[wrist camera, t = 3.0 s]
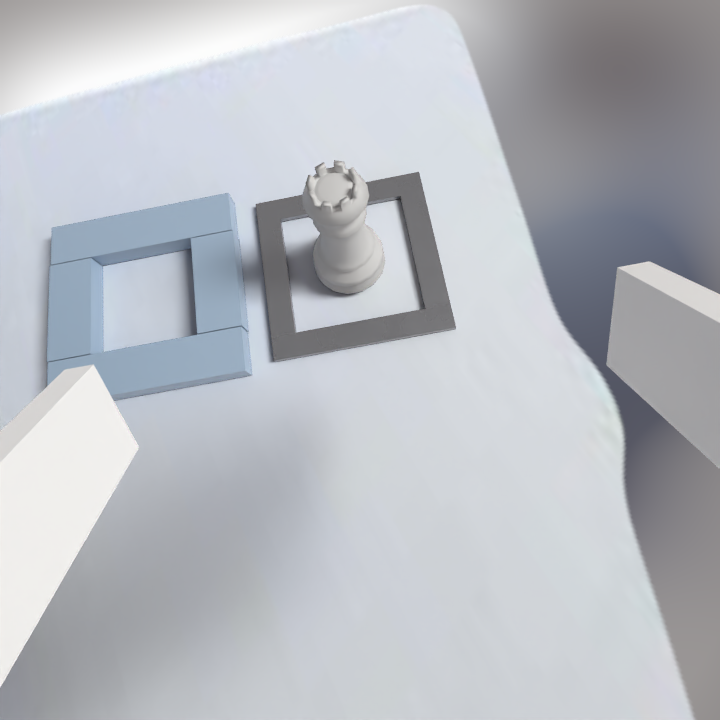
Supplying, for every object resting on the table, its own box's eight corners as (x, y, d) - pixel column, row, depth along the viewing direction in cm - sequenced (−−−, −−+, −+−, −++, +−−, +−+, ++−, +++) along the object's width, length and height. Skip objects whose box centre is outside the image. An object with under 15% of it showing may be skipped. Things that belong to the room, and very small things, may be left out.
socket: (60, 410, 27) (45, 407, 26) (64, 237, 31) (50, 227, 29) (253, 375, 27) (246, 370, 26) (235, 203, 30) (229, 192, 29)
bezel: (275, 361, 27) (273, 360, 27) (257, 206, 30) (255, 204, 30) (455, 329, 26) (455, 327, 26) (418, 174, 29) (418, 172, 29)
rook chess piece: (334, 223, 29) (311, 131, 21) (396, 247, 28) (396, 160, 21) (303, 281, 28) (268, 206, 20) (367, 307, 27) (355, 240, 20)
